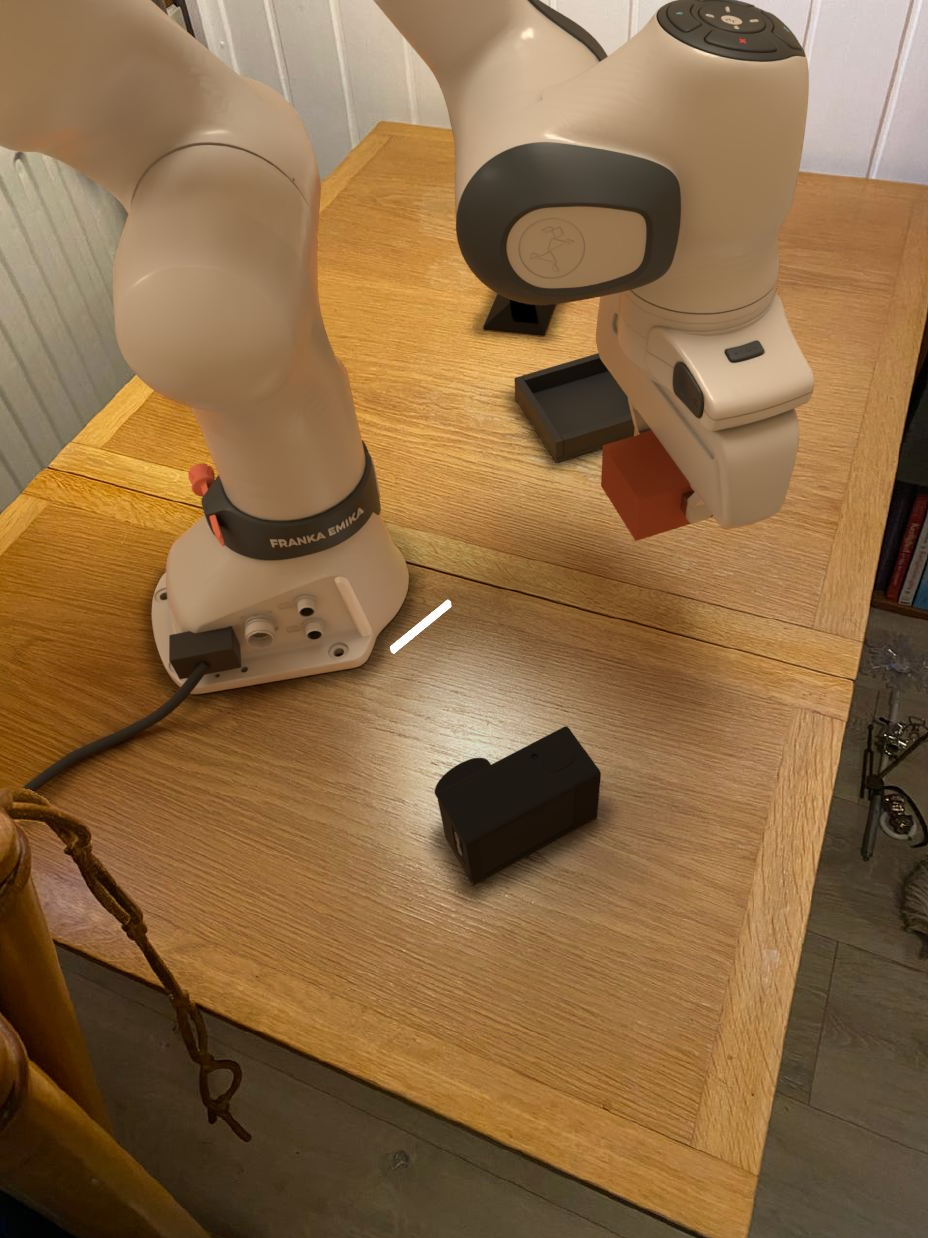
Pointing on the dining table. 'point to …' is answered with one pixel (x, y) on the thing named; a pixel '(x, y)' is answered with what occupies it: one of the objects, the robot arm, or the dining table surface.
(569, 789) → the digital camera
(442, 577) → the dining table surface
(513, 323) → the black flat based block
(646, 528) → the orange rectangular block
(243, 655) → the robot arm
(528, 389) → the dark brown tray
